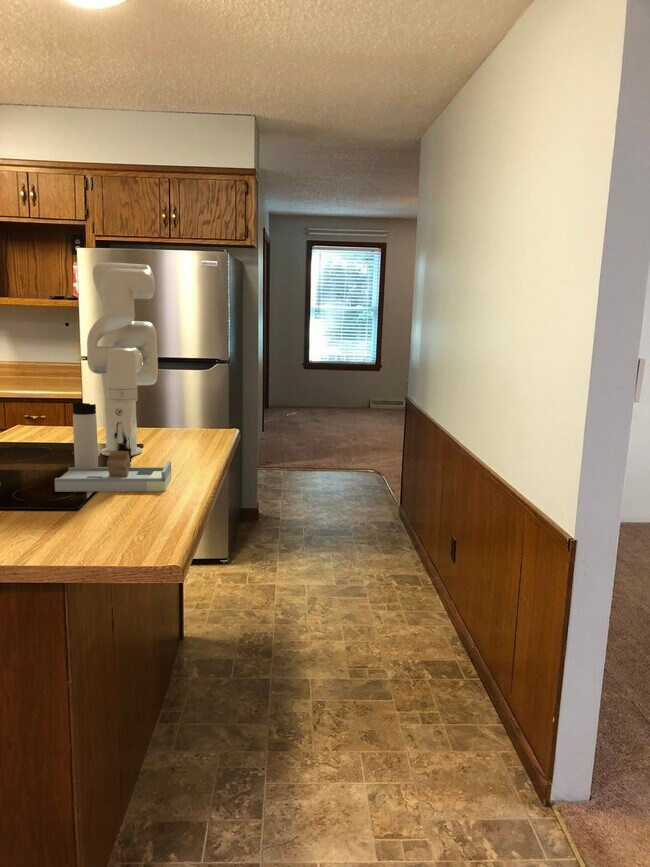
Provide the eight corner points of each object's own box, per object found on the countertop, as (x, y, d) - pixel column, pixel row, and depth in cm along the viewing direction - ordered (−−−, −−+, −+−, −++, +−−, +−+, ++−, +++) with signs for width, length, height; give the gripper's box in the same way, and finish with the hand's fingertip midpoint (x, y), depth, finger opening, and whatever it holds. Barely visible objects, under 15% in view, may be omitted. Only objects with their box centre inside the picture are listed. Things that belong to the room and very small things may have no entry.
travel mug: (69, 471, 180) (66, 401, 177) (87, 467, 186) (84, 399, 183) (84, 474, 178) (82, 403, 174) (103, 470, 183) (100, 401, 180)
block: (113, 464, 169) (110, 450, 166) (130, 465, 169) (128, 451, 166) (109, 476, 166) (106, 462, 163) (127, 476, 166) (124, 462, 163)
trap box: (69, 478, 172) (68, 460, 171) (171, 478, 175) (171, 461, 175) (55, 491, 160) (54, 472, 159) (165, 491, 163) (164, 472, 162)
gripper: (132, 398, 161) (133, 469, 164) (141, 392, 175) (143, 458, 178) (101, 397, 160) (103, 469, 163) (113, 392, 175) (115, 458, 177)
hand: (124, 463), depth 170 cm, fingers closed
